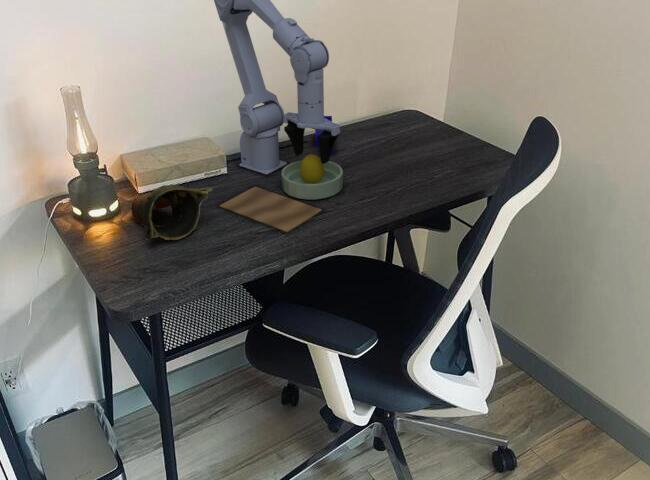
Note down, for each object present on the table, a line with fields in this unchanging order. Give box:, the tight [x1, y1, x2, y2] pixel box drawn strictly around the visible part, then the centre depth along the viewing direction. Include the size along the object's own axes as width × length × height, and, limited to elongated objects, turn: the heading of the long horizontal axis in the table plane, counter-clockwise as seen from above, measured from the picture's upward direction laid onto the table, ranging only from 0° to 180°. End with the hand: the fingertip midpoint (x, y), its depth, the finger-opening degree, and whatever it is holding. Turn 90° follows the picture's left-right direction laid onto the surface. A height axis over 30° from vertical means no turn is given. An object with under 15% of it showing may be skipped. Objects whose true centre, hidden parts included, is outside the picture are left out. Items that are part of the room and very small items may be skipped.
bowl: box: [280, 159, 344, 200], centre depth 156 cm, size 14×14×4 cm
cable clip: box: [314, 115, 334, 156], centre depth 176 cm, size 12×4×6 cm, turn 179°
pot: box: [130, 183, 213, 241], centre depth 142 cm, size 17×11×18 cm
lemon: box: [300, 153, 324, 184], centre depth 155 cm, size 6×6×8 cm
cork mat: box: [218, 186, 323, 233], centre depth 149 cm, size 20×12×1 cm, turn 51°
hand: (312, 158), depth 153 cm, fingers open, 7 cm apart
